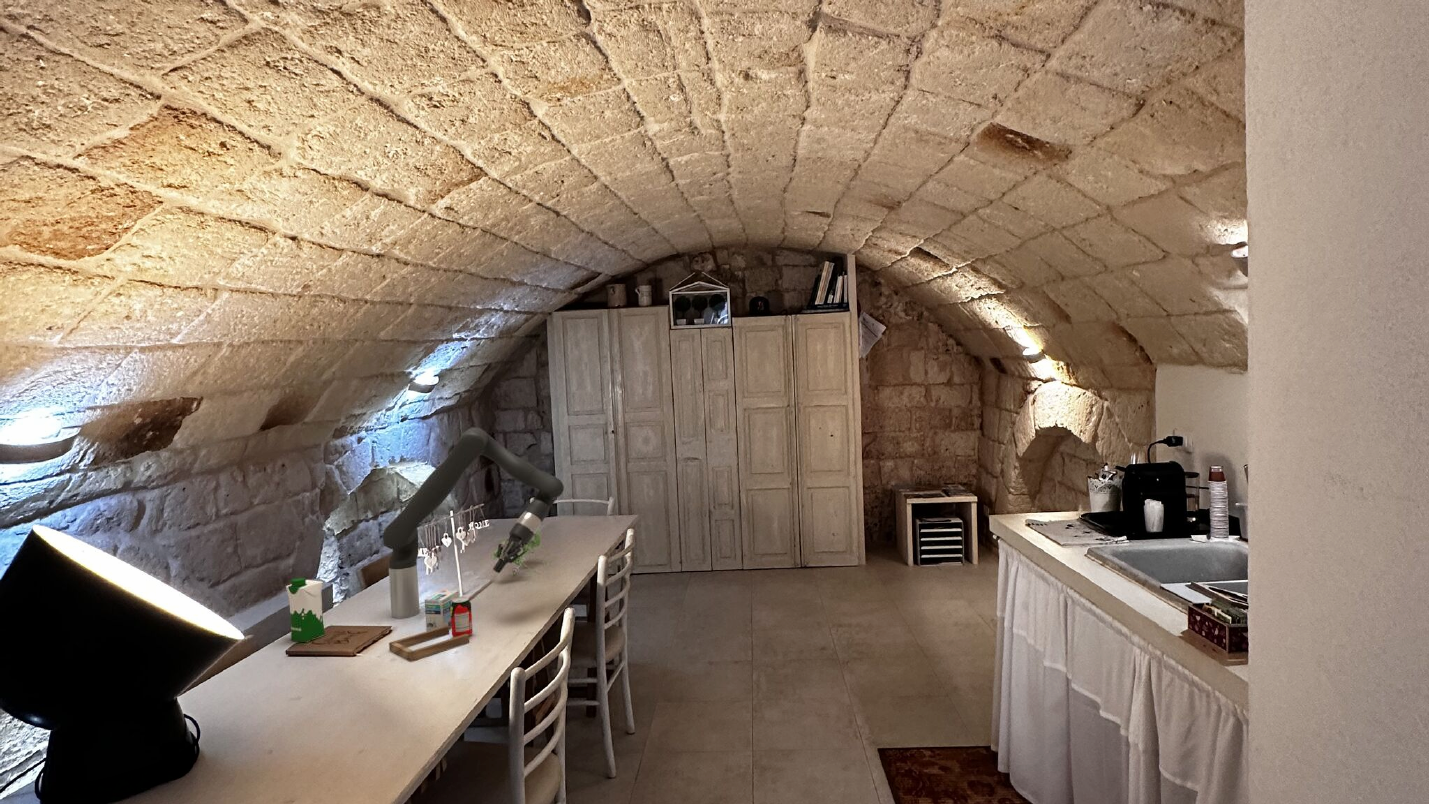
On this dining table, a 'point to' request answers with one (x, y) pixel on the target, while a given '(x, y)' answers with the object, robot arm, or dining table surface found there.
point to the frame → (412, 655)
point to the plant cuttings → (530, 544)
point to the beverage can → (461, 616)
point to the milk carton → (305, 609)
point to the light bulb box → (439, 609)
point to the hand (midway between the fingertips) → (496, 571)
